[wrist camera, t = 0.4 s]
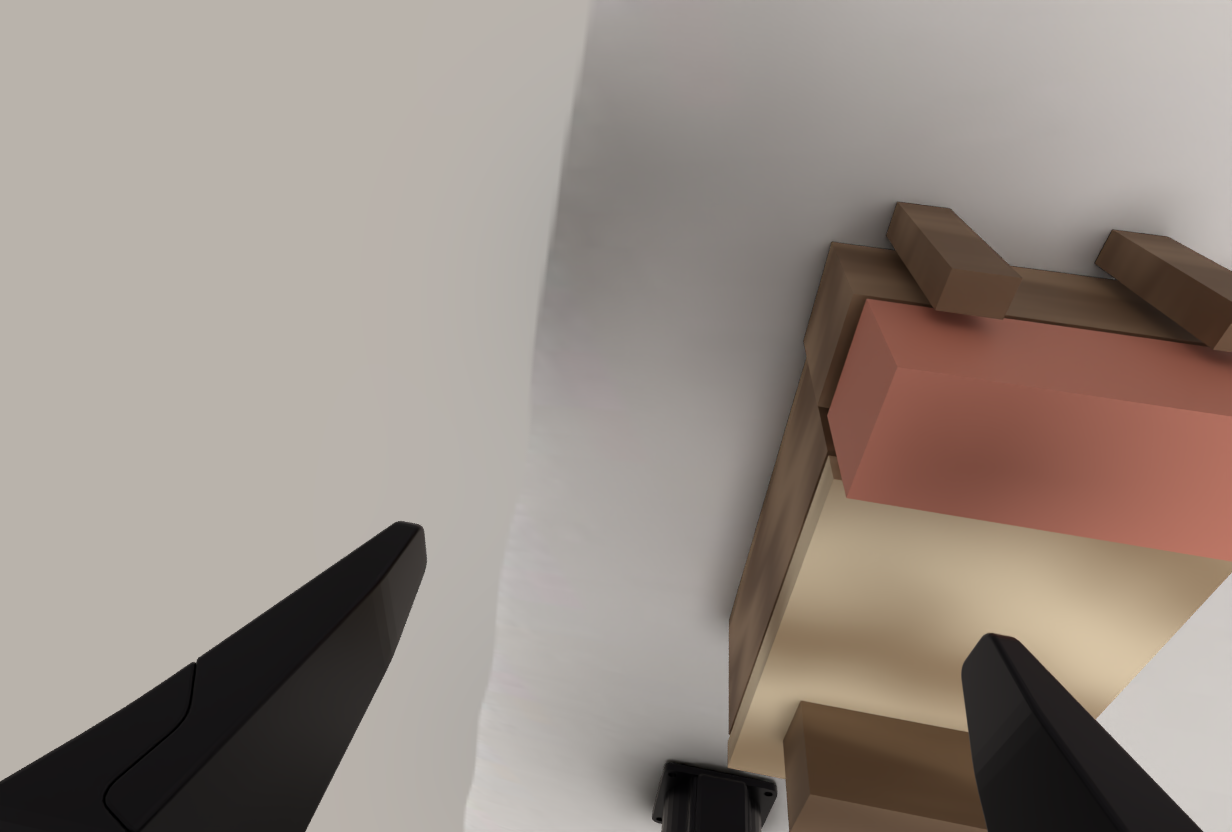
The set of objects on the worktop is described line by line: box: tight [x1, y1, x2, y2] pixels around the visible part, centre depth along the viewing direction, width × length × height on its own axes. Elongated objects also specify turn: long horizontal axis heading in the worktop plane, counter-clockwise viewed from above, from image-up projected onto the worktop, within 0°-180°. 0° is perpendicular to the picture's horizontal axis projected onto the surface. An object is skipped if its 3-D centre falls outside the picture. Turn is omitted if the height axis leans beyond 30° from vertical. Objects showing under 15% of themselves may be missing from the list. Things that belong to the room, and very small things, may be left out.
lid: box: [728, 455, 1232, 832], centre depth 19 cm, size 14×10×4 cm
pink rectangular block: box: [827, 299, 1232, 562], centre depth 15 cm, size 4×9×4 cm, turn 85°
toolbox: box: [729, 202, 1232, 734], centre depth 21 cm, size 19×21×6 cm
